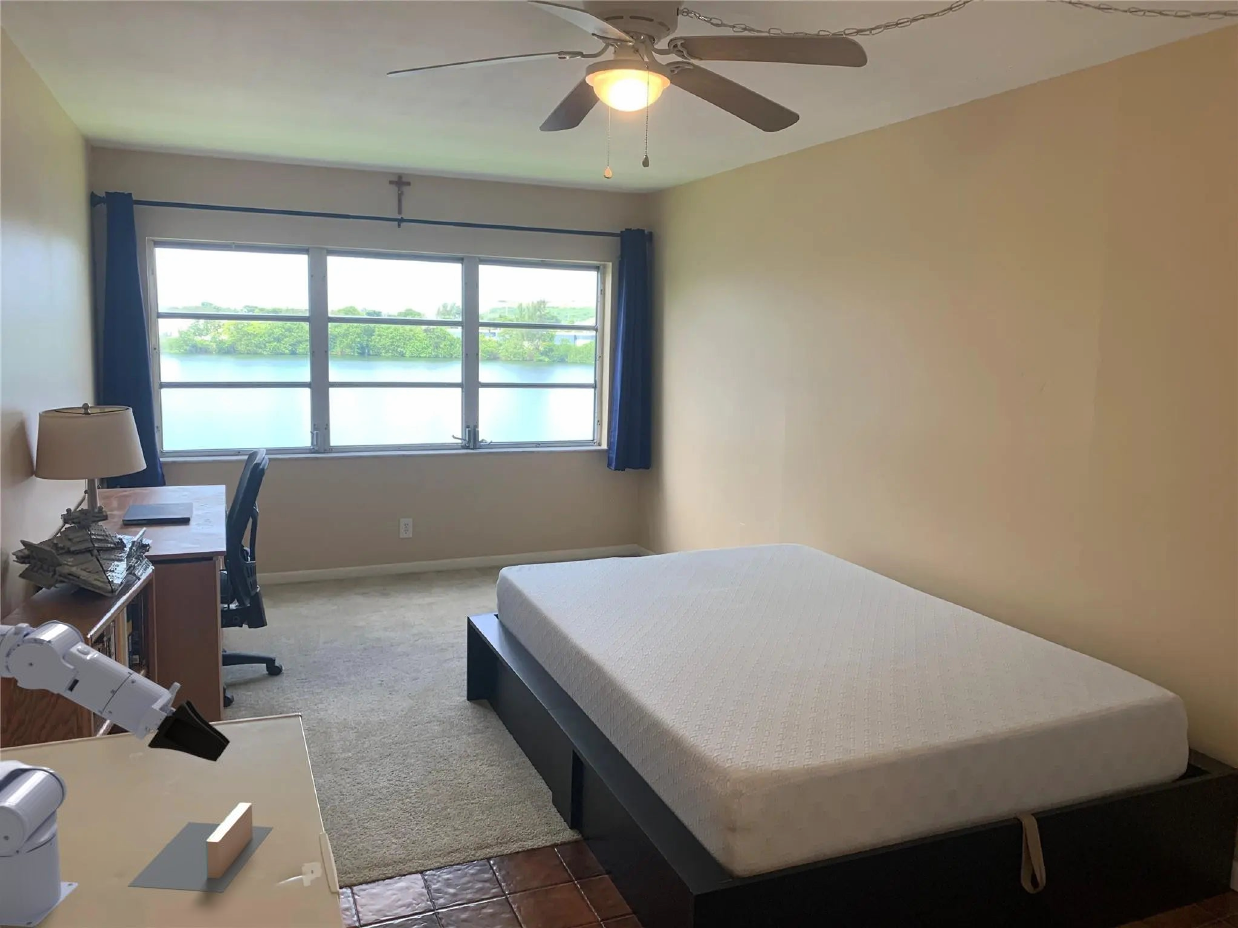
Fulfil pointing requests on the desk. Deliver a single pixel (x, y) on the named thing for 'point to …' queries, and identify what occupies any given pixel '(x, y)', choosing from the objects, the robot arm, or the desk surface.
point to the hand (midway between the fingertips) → (223, 751)
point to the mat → (193, 861)
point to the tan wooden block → (229, 840)
